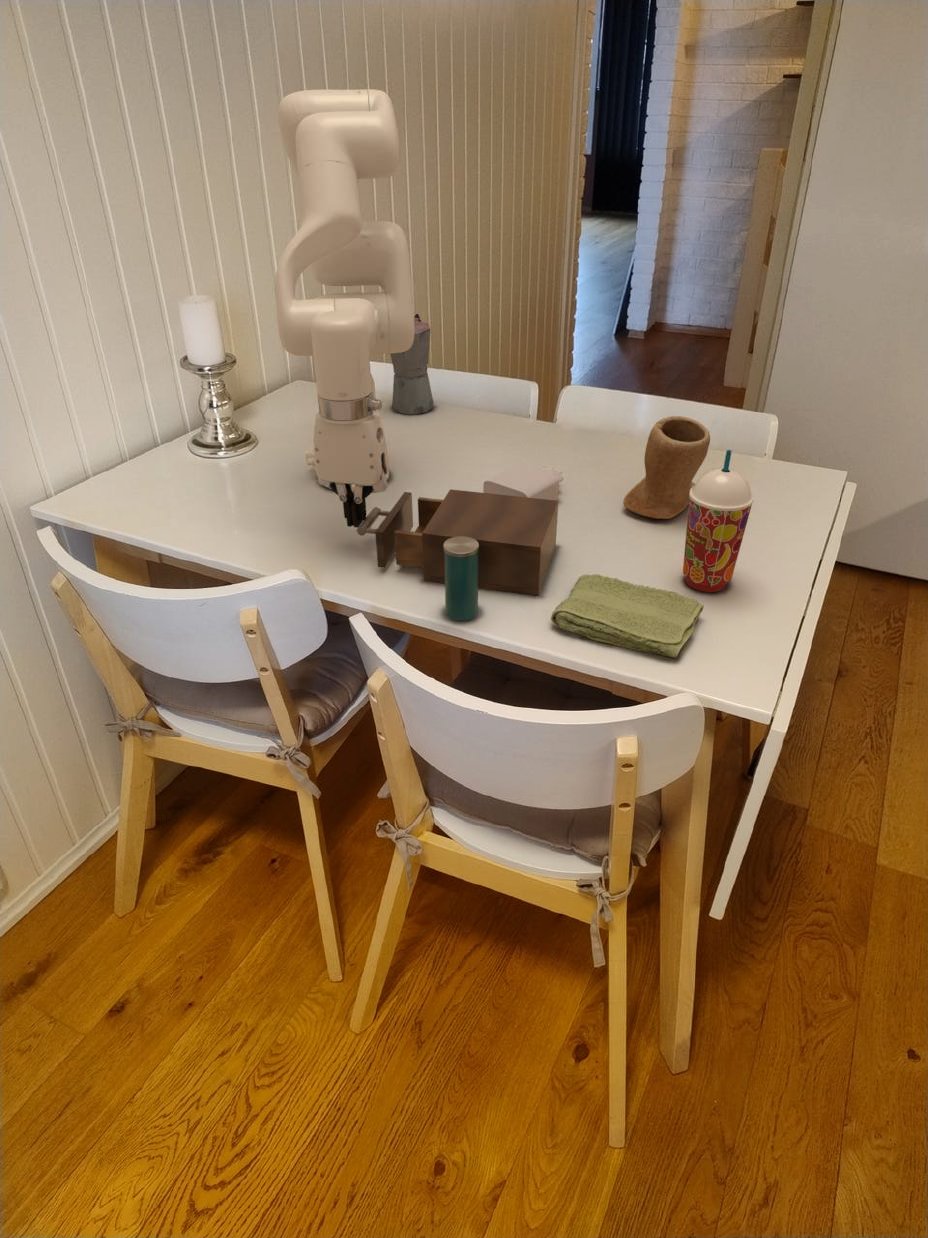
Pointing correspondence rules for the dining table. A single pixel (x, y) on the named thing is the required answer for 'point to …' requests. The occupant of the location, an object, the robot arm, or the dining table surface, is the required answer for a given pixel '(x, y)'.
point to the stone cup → (669, 467)
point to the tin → (461, 578)
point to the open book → (525, 483)
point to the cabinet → (495, 538)
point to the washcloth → (628, 615)
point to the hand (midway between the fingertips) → (356, 522)
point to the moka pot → (413, 374)
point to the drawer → (400, 530)
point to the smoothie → (715, 527)
